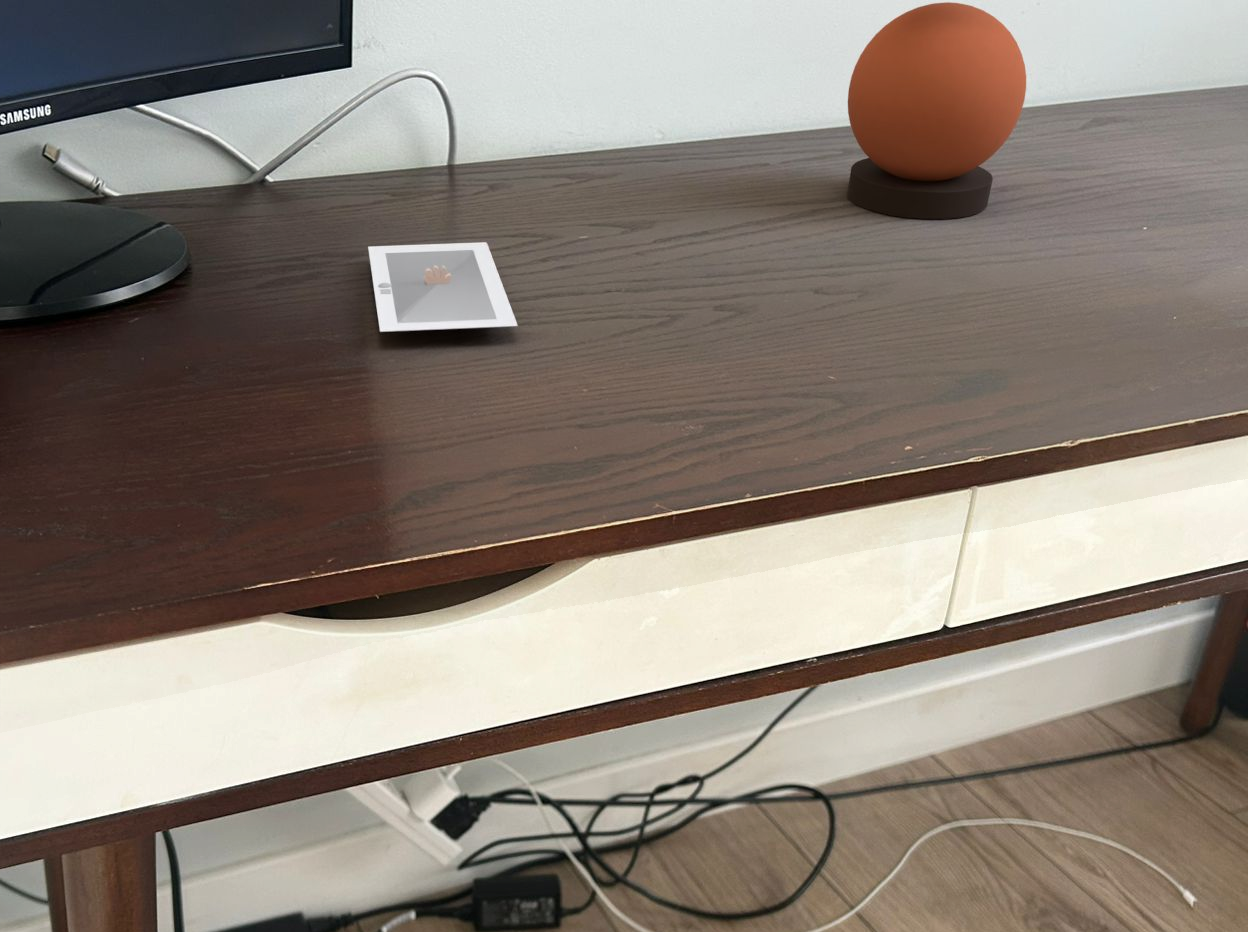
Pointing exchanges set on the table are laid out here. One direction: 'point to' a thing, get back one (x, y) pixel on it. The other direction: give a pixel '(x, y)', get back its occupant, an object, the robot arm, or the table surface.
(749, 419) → the table surface
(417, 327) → the touchpad
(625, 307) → the table surface
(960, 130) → the ball
